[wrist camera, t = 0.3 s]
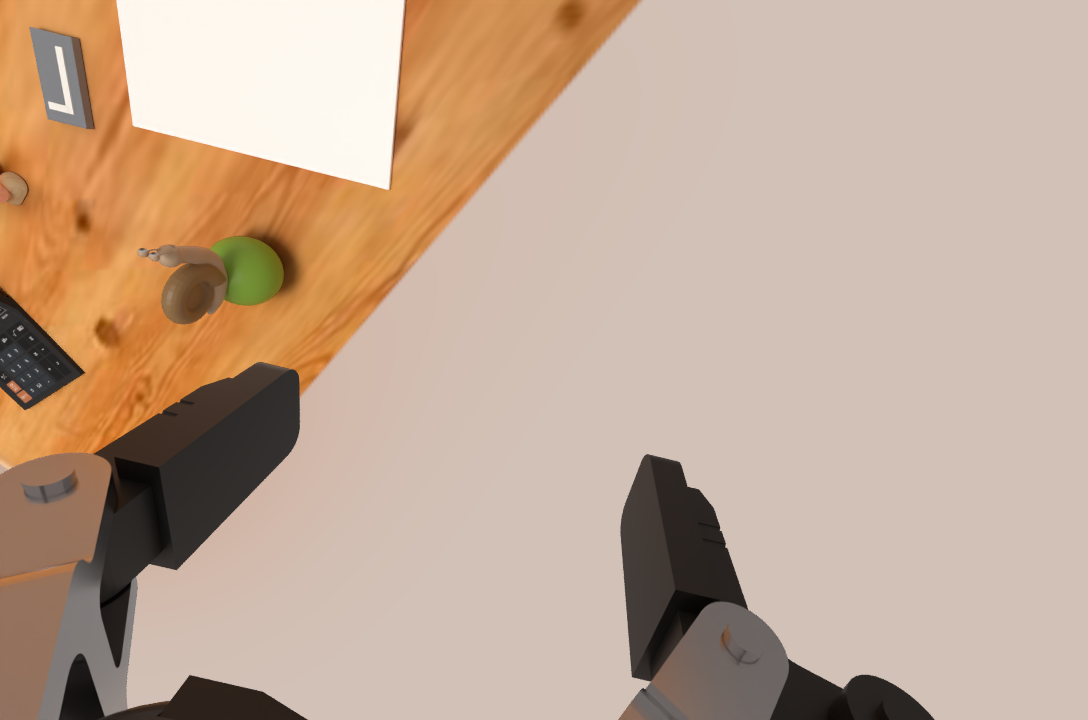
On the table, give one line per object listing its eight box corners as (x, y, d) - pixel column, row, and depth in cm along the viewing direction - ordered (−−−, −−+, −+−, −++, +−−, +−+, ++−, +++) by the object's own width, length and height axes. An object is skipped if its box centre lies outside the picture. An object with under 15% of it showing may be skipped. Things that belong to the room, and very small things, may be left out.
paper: (94, -196, 29) (90, -199, 28) (415, -113, 29) (413, -115, 29) (136, 126, 36) (133, 125, 36) (390, 189, 37) (388, 189, 36)
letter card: (38, 28, 34) (27, 26, 33) (79, 38, 34) (69, 36, 33) (55, 119, 37) (46, 118, 36) (94, 128, 37) (85, 128, 36)
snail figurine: (302, 233, 39) (190, 267, 28) (293, 303, 41) (187, 359, 30) (237, 209, 38) (98, 234, 27) (232, 281, 41) (103, 330, 30)
